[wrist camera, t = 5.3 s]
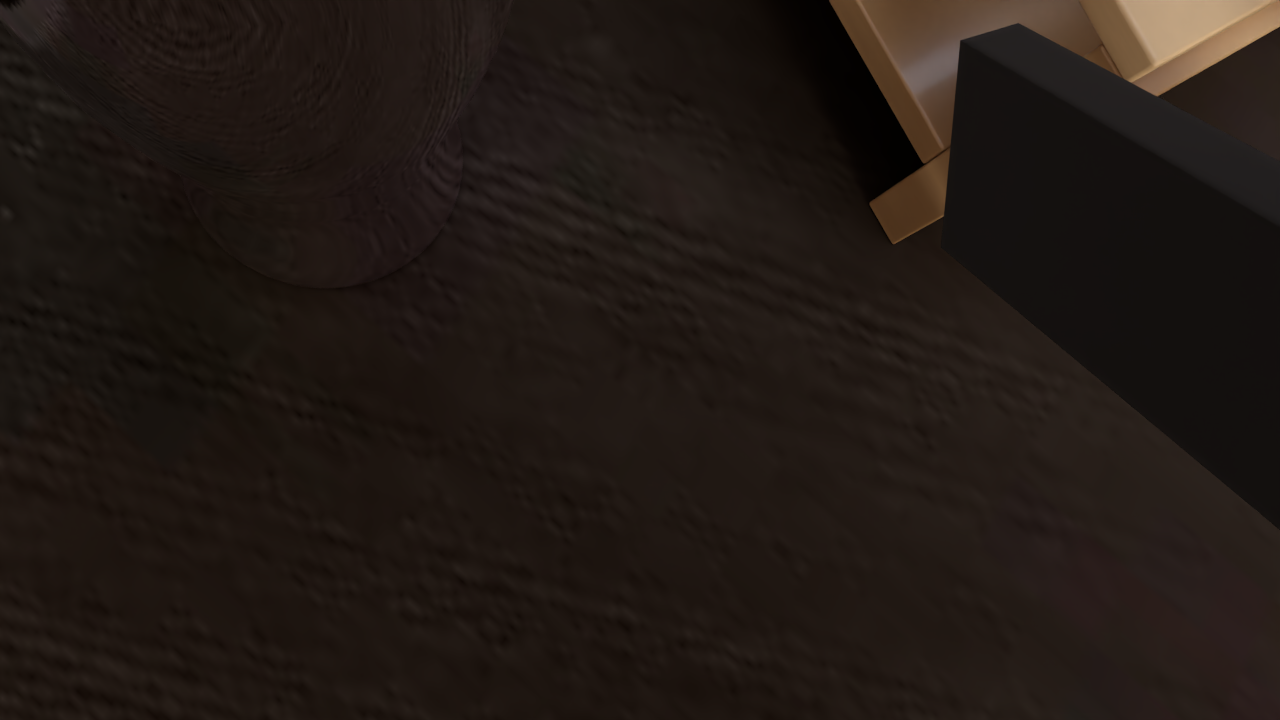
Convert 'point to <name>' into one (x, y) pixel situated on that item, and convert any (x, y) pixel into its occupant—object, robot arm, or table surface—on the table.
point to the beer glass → (284, 114)
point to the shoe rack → (1053, 7)
